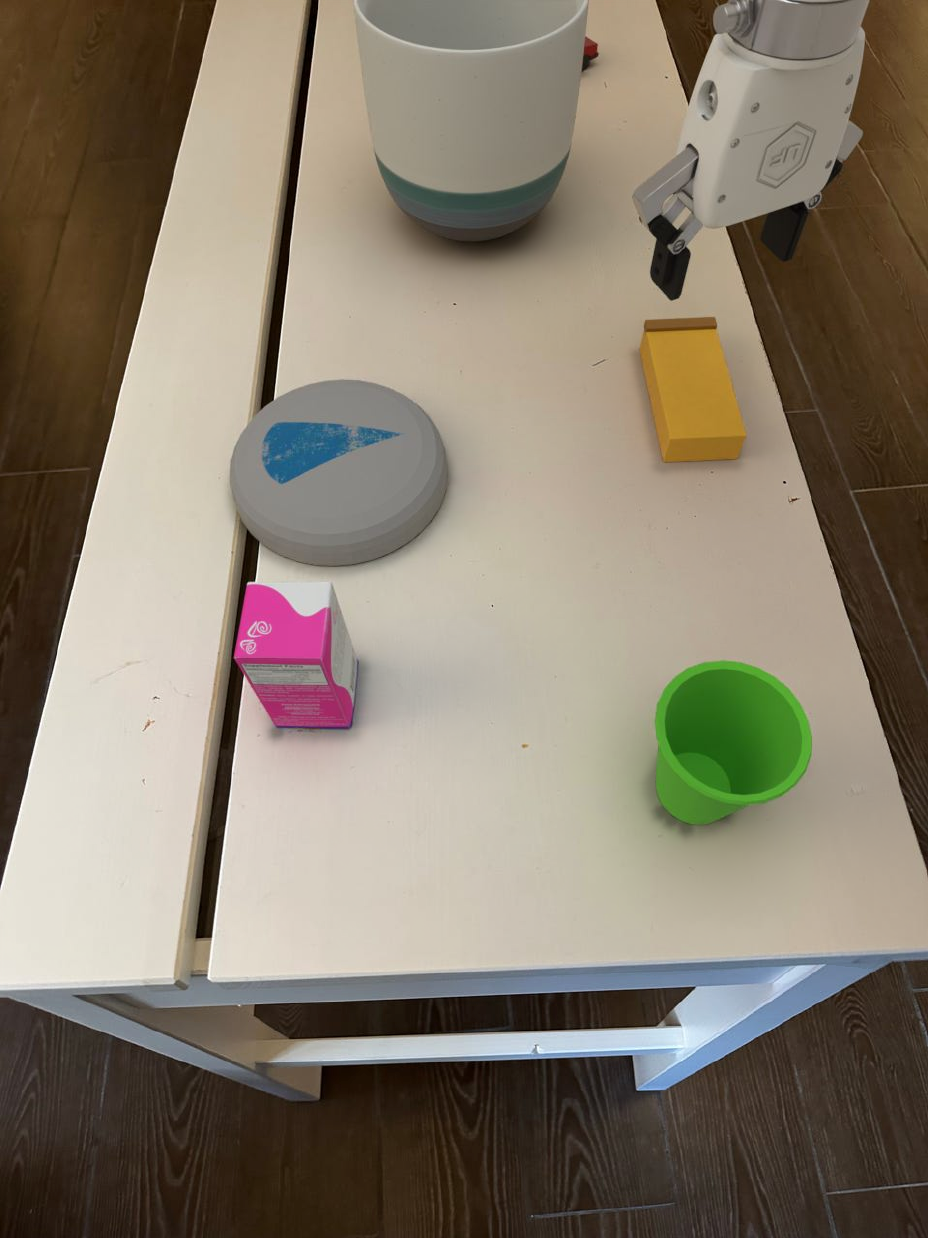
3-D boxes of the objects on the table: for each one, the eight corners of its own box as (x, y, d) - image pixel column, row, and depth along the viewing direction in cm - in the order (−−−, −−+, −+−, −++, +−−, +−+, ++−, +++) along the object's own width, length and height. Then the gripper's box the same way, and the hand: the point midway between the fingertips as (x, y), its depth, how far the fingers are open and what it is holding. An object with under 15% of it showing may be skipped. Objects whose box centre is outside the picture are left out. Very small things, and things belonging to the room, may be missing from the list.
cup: (615, 736, 61) (640, 667, 51) (738, 722, 61) (786, 651, 51) (642, 861, 56) (675, 811, 46) (775, 846, 56) (835, 793, 47)
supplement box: (282, 659, 64) (246, 577, 54) (359, 660, 64) (337, 579, 54) (271, 729, 61) (231, 657, 51) (352, 731, 61) (327, 659, 51)
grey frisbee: (465, 547, 69) (464, 509, 65) (240, 584, 68) (223, 548, 63) (429, 387, 78) (426, 345, 74) (229, 416, 77) (214, 375, 72)
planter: (579, 273, 86) (606, 44, 67) (380, 285, 86) (352, 57, 67) (555, 156, 96) (573, -70, 78) (377, 166, 96) (352, -59, 77)
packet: (737, 459, 73) (748, 432, 70) (663, 462, 73) (670, 435, 70) (706, 345, 80) (715, 316, 78) (638, 348, 80) (644, 319, 77)
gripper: (702, 77, 44) (646, 336, 59) (961, 3, 48) (847, 265, 62) (628, 13, 48) (593, 273, 62) (875, -52, 51) (786, 209, 66)
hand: (720, 269), depth 62 cm, fingers open, 9 cm apart
